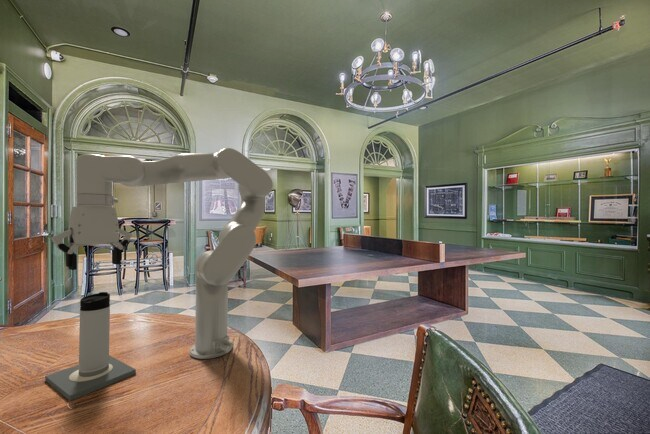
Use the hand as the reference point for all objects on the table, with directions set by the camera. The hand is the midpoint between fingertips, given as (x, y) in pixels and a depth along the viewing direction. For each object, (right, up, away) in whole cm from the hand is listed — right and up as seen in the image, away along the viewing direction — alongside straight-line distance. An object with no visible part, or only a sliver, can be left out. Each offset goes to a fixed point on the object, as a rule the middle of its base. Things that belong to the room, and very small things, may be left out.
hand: (95, 266), depth 77 cm
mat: (-1, -29, -1) cm, 29 cm away
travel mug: (0, -28, 0) cm, 28 cm away
